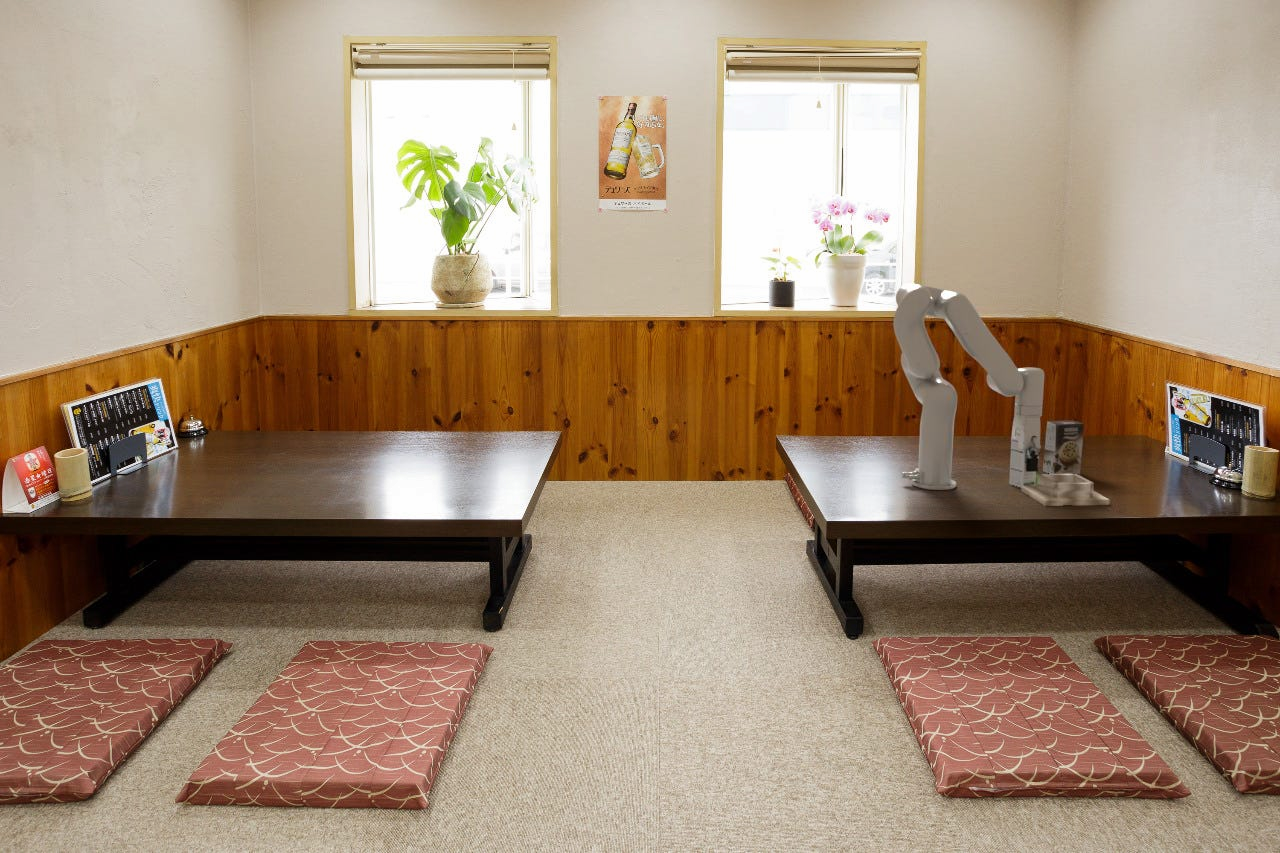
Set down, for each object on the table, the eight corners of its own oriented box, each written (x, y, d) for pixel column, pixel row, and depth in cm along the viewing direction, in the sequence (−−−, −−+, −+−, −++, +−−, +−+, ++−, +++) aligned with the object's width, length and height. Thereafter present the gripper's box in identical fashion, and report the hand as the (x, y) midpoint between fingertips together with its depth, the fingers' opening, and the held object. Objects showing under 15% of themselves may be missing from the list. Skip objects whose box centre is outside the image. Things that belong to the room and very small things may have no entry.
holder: (1044, 505, 283) (1046, 486, 282) (1021, 490, 299) (1022, 472, 298) (1109, 504, 284) (1110, 485, 283) (1082, 489, 299) (1083, 471, 298)
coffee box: (1054, 476, 315) (1058, 424, 312) (1042, 471, 321) (1045, 420, 318) (1081, 474, 317) (1085, 423, 314) (1068, 469, 323) (1072, 419, 320)
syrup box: (1022, 488, 301) (1025, 440, 298) (1008, 484, 306) (1011, 436, 304) (1037, 486, 303) (1041, 438, 300) (1023, 482, 308) (1026, 434, 306)
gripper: (1003, 405, 309) (1000, 461, 312) (1027, 416, 292) (1024, 474, 295) (1028, 404, 309) (1025, 460, 312) (1053, 415, 292) (1050, 474, 295)
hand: (1024, 467), depth 304 cm, fingers open, 9 cm apart
